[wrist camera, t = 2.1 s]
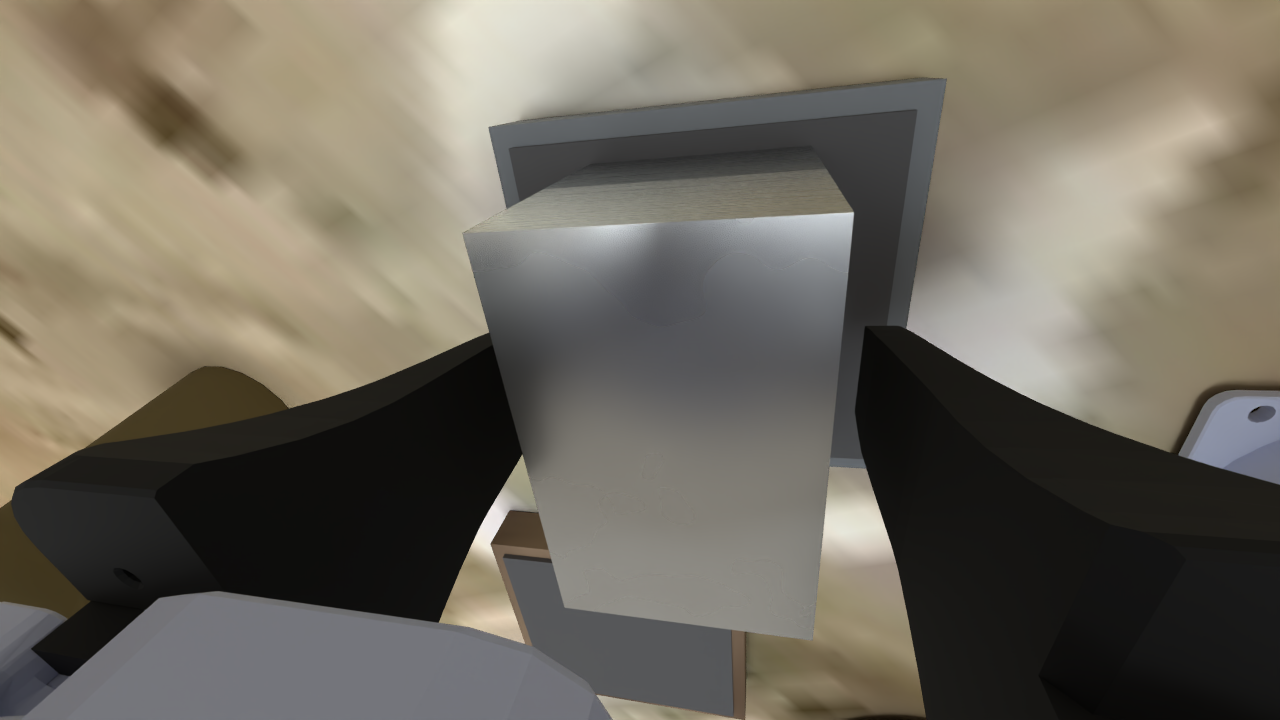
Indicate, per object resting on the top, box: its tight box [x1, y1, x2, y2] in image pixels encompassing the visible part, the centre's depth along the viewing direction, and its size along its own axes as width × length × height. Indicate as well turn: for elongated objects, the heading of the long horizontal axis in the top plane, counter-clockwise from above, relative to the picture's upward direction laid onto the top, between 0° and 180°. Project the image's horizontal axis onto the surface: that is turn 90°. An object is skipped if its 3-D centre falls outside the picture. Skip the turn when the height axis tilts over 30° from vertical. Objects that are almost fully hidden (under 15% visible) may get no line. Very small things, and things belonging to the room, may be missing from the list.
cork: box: [0, 367, 288, 619], centre depth 18 cm, size 6×6×11 cm
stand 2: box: [491, 511, 746, 720], centre depth 22 cm, size 10×10×2 cm
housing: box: [462, 146, 854, 640], centre depth 11 cm, size 5×8×6 cm, turn 7°
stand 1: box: [489, 78, 947, 468], centre depth 14 cm, size 10×10×2 cm
